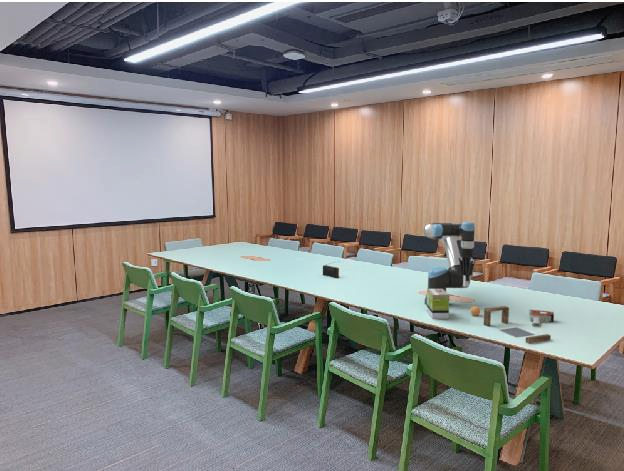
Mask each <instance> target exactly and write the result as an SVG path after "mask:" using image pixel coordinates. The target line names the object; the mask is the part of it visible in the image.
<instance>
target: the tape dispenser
mask: <svg viewBox="0 0 624 471" xmlns="http://www.w3.org/2000/svg"><path fill="white" fill-rule="evenodd" d="M554 318H555V312H554V311H548V310H537V309H529V319H530V321H531V322H532V323H531V326H532V327H534V328H541V323H547V322H548V323H553V322H554V320H555V319H554Z"/></svg>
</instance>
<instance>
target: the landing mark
mask: <svg viewBox="0 0 624 471" xmlns="http://www.w3.org/2000/svg"><path fill="white" fill-rule="evenodd" d="M499 331H500V332H502V333H505V334H508V335H510V336H512V337H514V338H522V337H530V336H535V333H533V332H529V331H527V330H524V329H522V328H519V327H518V326H516V327H515V326H514V327H510V328H509V327H508V328H501V329H499Z"/></svg>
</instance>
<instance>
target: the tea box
mask: <svg viewBox="0 0 624 471" xmlns="http://www.w3.org/2000/svg"><path fill="white" fill-rule="evenodd" d="M426 295H427V304H426V312H427V314H428V315H429V317H430V318H431V319H432V320H449V319H450V294H449V293H448V292H447V290H446V291H445V290H443V289H428V288H426Z"/></svg>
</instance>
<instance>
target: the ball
mask: <svg viewBox="0 0 624 471" xmlns="http://www.w3.org/2000/svg"><path fill="white" fill-rule="evenodd" d="M470 313H471V315H472V316H475V317H476V316H479V315H480V314H481V309H480V307H478V306H471V308H470Z"/></svg>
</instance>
